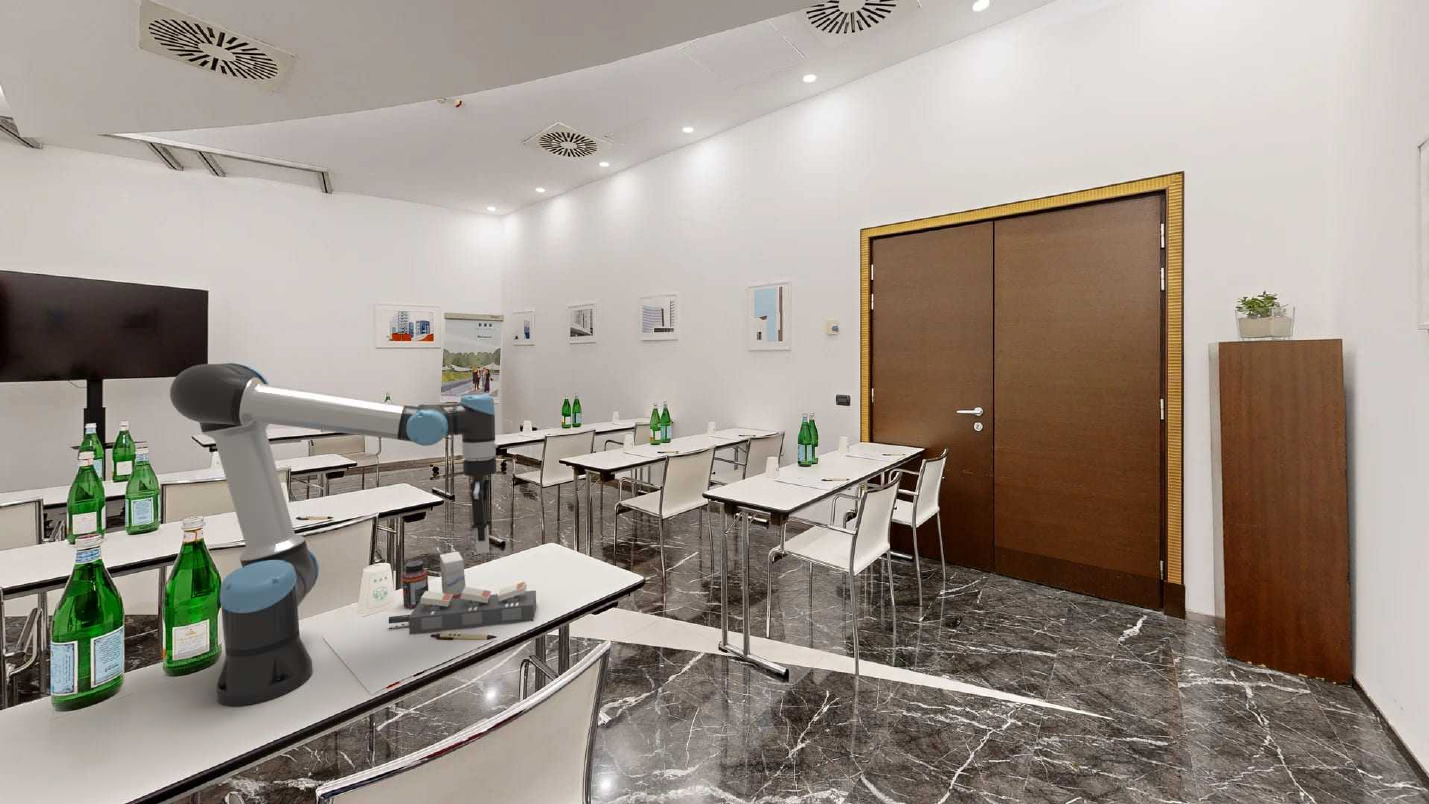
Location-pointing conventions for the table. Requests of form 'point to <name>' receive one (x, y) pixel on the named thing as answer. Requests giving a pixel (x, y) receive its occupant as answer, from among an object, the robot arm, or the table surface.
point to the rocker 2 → (475, 595)
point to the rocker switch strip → (469, 613)
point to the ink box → (452, 574)
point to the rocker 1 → (436, 598)
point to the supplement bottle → (414, 583)
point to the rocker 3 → (512, 591)
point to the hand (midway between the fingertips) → (482, 552)
